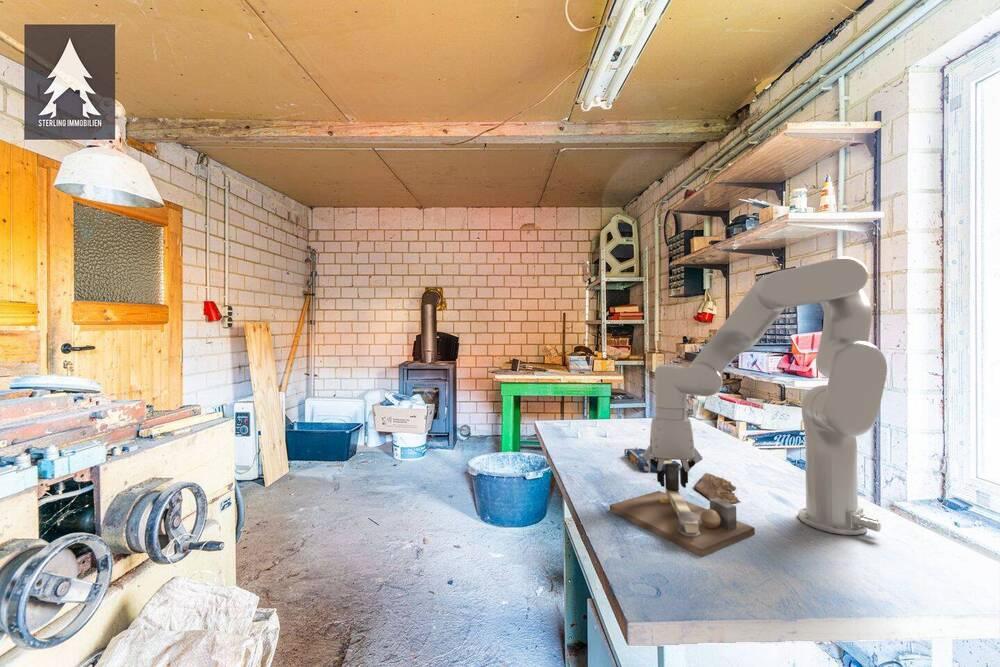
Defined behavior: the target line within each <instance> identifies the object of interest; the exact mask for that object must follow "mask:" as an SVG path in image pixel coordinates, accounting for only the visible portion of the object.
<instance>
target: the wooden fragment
mask: <svg viewBox="0 0 1000 667" xmlns="http://www.w3.org/2000/svg"><path fill="white" fill-rule="evenodd" d="M693 489H695V490H696V491H698V492H700V493H701V494H702V495H704V496H705V497H706V498H708V499H709V500H710V499H715V498H719V499H721V500H724V501H726V502H728V503H730V504H733V505H734V504H739V502H740V503H741V501H740V499H738V497H737V496H736V495H735V493H734V492H733V491H735V490H736V489H737V487H736V486H734V485H733V484H731V481H730V480H729V481H728V480H727V479H725V478H723V477H719V476H715V475H714V474H711V473H710V472H704V474H703V475H702V477H700V478H699V479H698V481H697V482H696V483H695V484H694V485H693Z"/></svg>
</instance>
